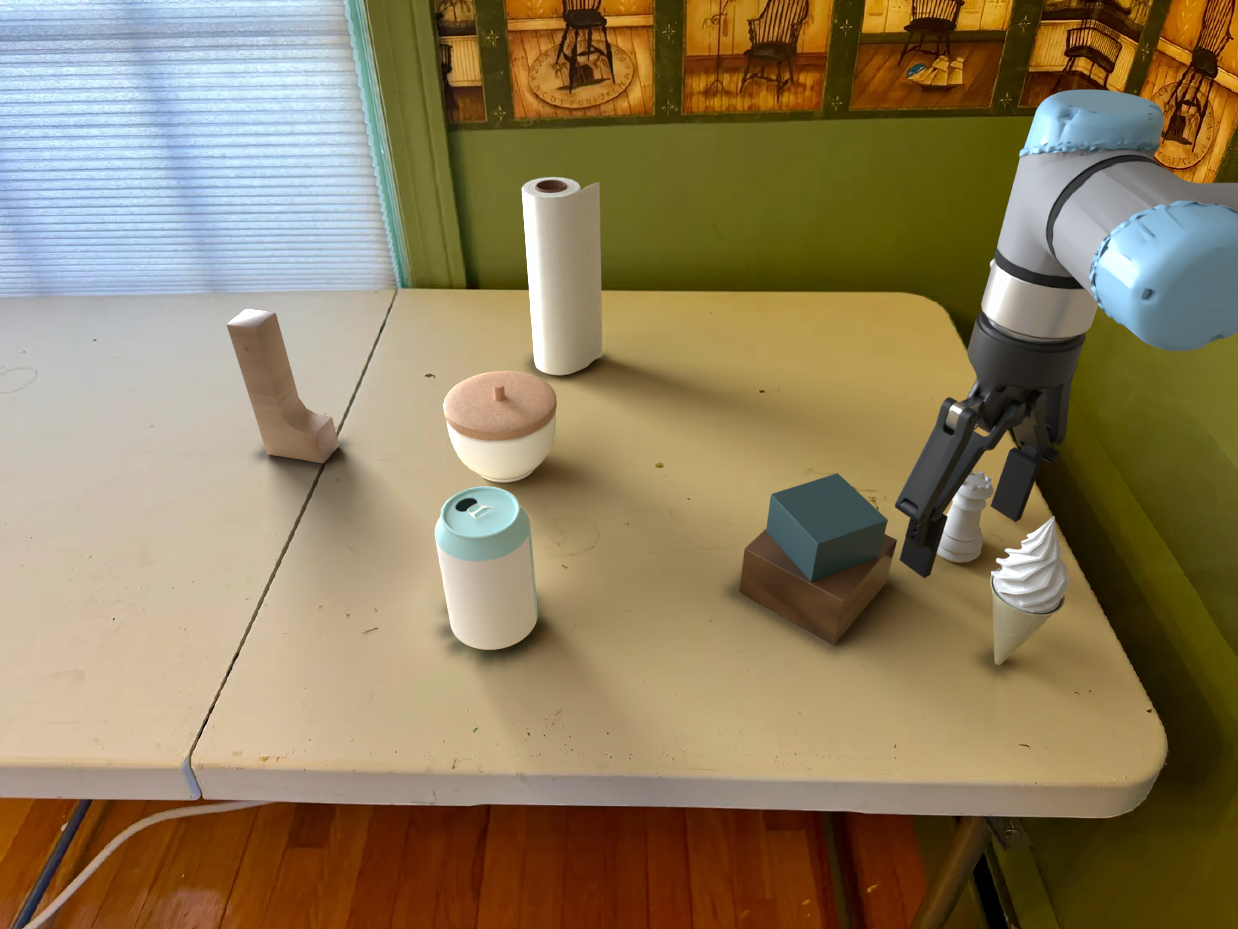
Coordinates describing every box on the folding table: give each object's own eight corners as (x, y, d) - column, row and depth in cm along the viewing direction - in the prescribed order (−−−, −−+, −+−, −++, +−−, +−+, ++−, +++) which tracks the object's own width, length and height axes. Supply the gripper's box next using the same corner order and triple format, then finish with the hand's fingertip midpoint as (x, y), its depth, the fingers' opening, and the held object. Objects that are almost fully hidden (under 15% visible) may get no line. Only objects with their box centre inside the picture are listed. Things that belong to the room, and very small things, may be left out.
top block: (878, 557, 70) (888, 520, 67) (810, 582, 67) (817, 544, 65) (830, 509, 74) (837, 472, 72) (765, 531, 72) (770, 493, 70)
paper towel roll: (526, 371, 102) (511, 191, 89) (547, 346, 106) (536, 171, 93) (583, 383, 100) (576, 200, 87) (602, 357, 104) (599, 179, 91)
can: (443, 654, 68) (421, 541, 61) (460, 589, 74) (442, 478, 67) (532, 657, 68) (521, 544, 61) (543, 591, 74) (534, 481, 66)
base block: (886, 583, 74) (897, 539, 71) (833, 645, 69) (843, 601, 66) (794, 537, 79) (801, 494, 76) (739, 592, 74) (743, 548, 70)
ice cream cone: (960, 633, 70) (1010, 488, 61) (1027, 643, 69) (1088, 497, 60) (966, 683, 66) (1022, 536, 57) (1037, 694, 65) (1105, 546, 56)
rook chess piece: (973, 533, 79) (997, 463, 74) (985, 567, 76) (1010, 496, 71) (923, 529, 80) (943, 460, 75) (932, 564, 76) (954, 493, 71)
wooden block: (266, 454, 89) (225, 324, 80) (283, 436, 91) (245, 307, 82) (323, 464, 88) (289, 332, 78) (340, 445, 90) (308, 315, 81)
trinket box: (439, 493, 84) (426, 413, 78) (468, 429, 92) (457, 352, 87) (549, 502, 83) (544, 421, 77) (567, 436, 91) (564, 359, 86)
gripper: (1081, 261, 72) (1009, 469, 85) (880, 346, 61) (833, 569, 74) (1171, 295, 67) (1079, 511, 80) (969, 394, 56) (903, 624, 69)
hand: (961, 539), depth 77 cm, fingers open, 12 cm apart
